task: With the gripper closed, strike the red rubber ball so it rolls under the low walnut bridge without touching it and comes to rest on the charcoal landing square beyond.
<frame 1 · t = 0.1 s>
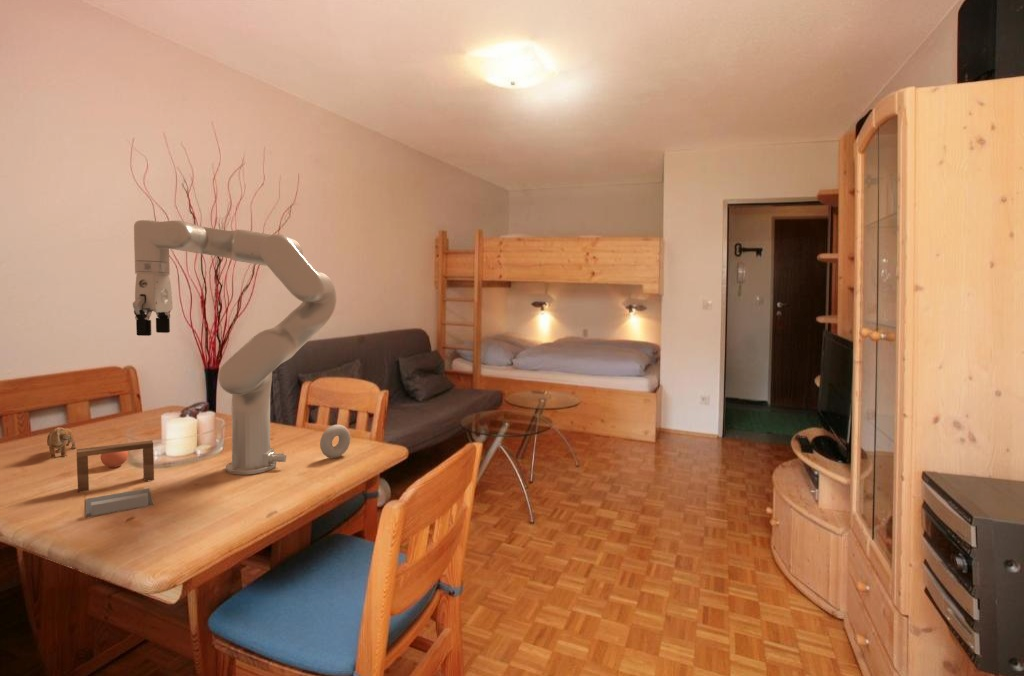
hand: (153, 333, 139), 37 cm above the table, tool pointing down, fingers open, 9 cm apart
bridge: (117, 484, 131), on the table
donut: (335, 458, 157), on the table
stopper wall: (120, 509, 116), on the table
brown toy animal: (63, 454, 152), on the table
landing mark: (119, 502, 120), on the table
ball: (114, 455, 143), on the table
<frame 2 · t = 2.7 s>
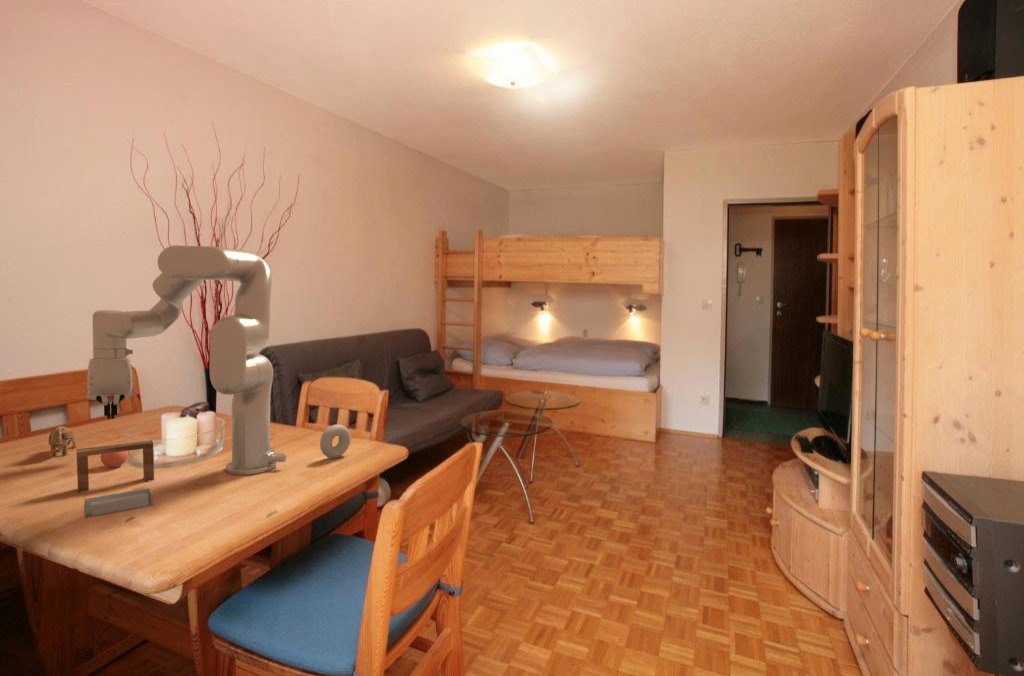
hand: (110, 417, 150), 11 cm above the table, tool pointing down, fingers closed
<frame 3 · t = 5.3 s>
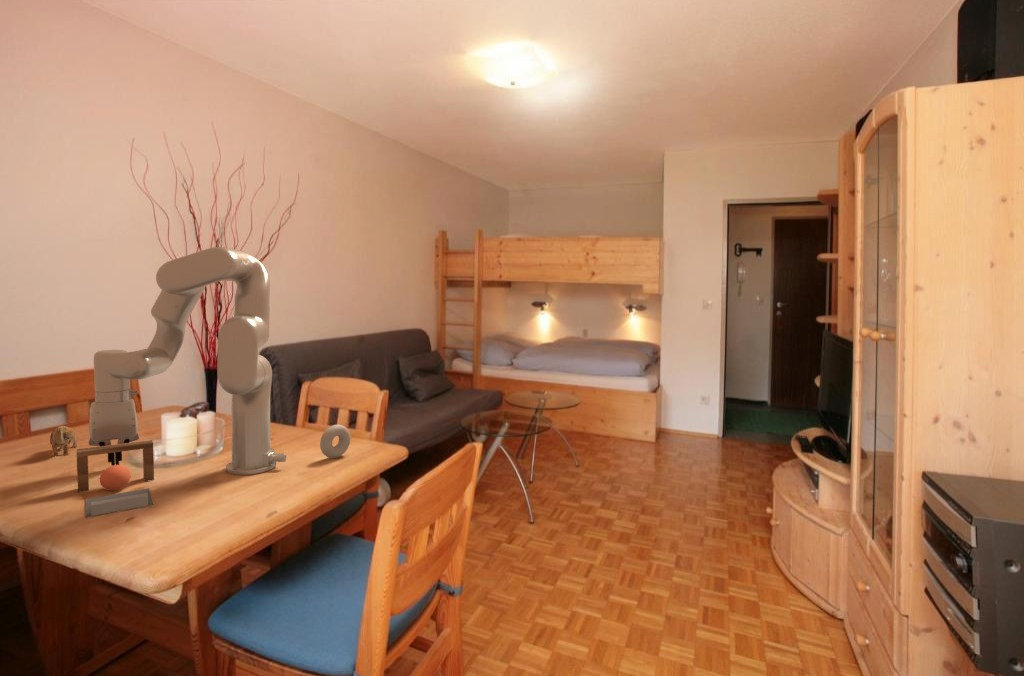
hand: (115, 464, 141), 2 cm above the table, tool pointing down, fingers closed
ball: (115, 477, 127), on the table
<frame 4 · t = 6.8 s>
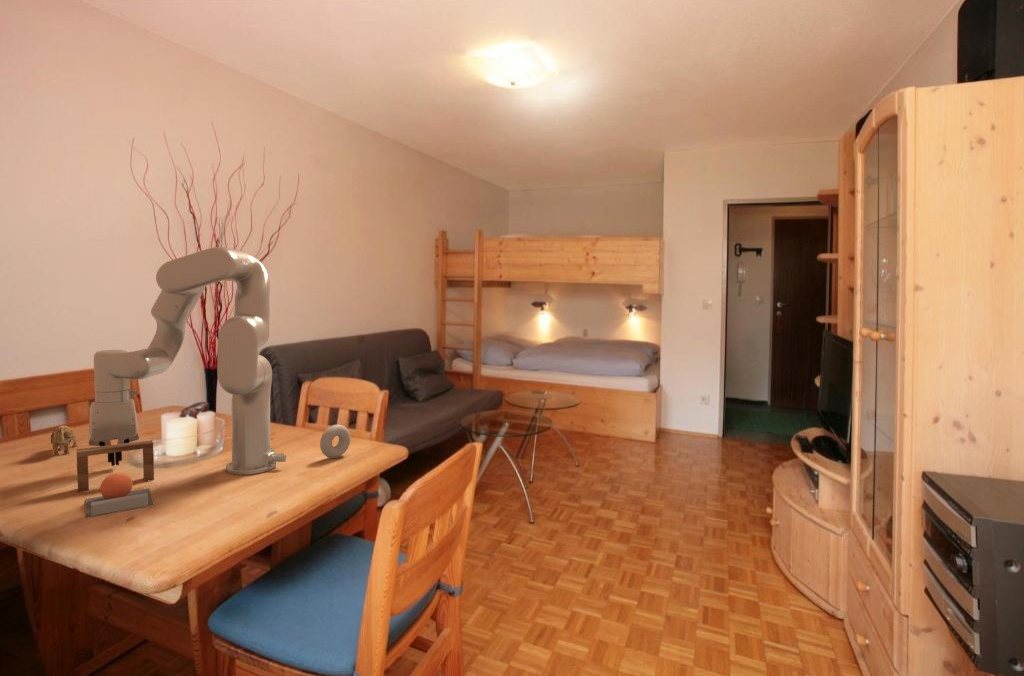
hand: (115, 464, 141), 2 cm above the table, tool pointing down, fingers closed
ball: (116, 486, 122), on the table
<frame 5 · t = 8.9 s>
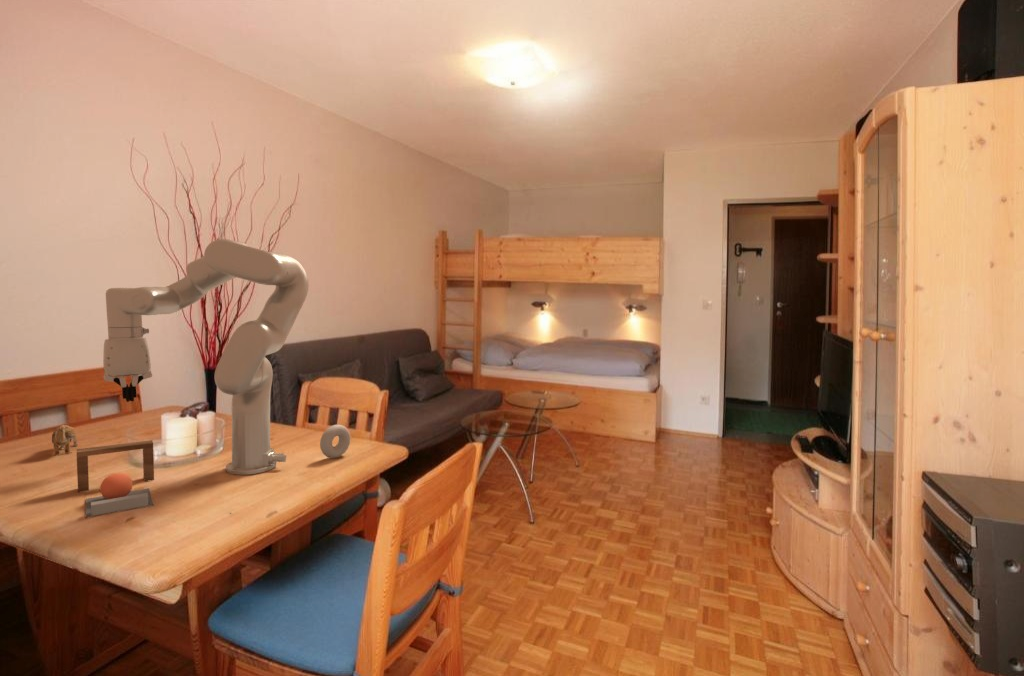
hand: (129, 400, 144), 18 cm above the table, tool pointing down, fingers closed
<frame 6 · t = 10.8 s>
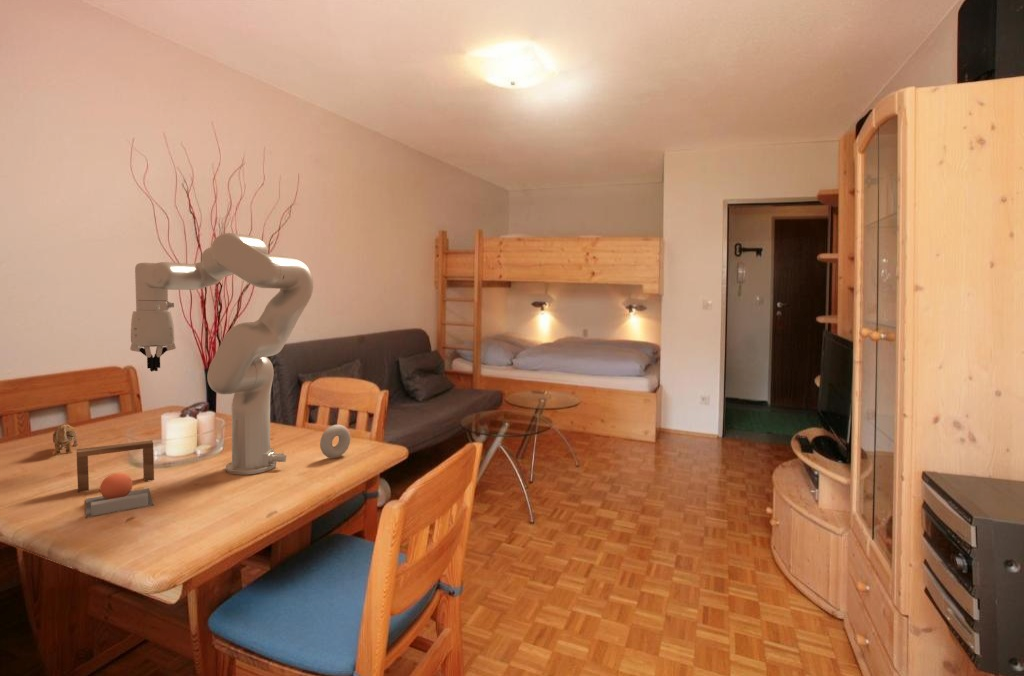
hand: (153, 370, 151), 25 cm above the table, tool pointing down, fingers closed
at the end: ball 2.6 cm from the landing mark (horizontally); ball never touched bridge; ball at rest at the end (0.0 cm/s) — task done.
